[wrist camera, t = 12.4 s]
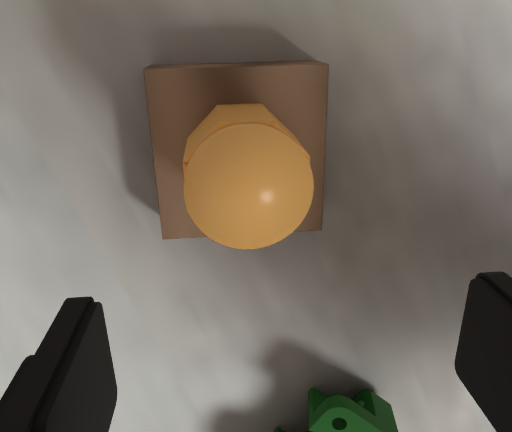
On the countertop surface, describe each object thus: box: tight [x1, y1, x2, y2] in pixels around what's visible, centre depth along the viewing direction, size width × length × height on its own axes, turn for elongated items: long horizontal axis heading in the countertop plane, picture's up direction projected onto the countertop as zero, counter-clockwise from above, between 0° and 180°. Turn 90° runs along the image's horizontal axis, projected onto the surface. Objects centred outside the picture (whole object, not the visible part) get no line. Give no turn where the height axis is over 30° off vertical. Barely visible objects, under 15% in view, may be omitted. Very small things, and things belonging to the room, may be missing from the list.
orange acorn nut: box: [183, 103, 314, 249], centre depth 23 cm, size 6×6×6 cm
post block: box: [144, 61, 329, 239], centre depth 25 cm, size 10×10×8 cm
